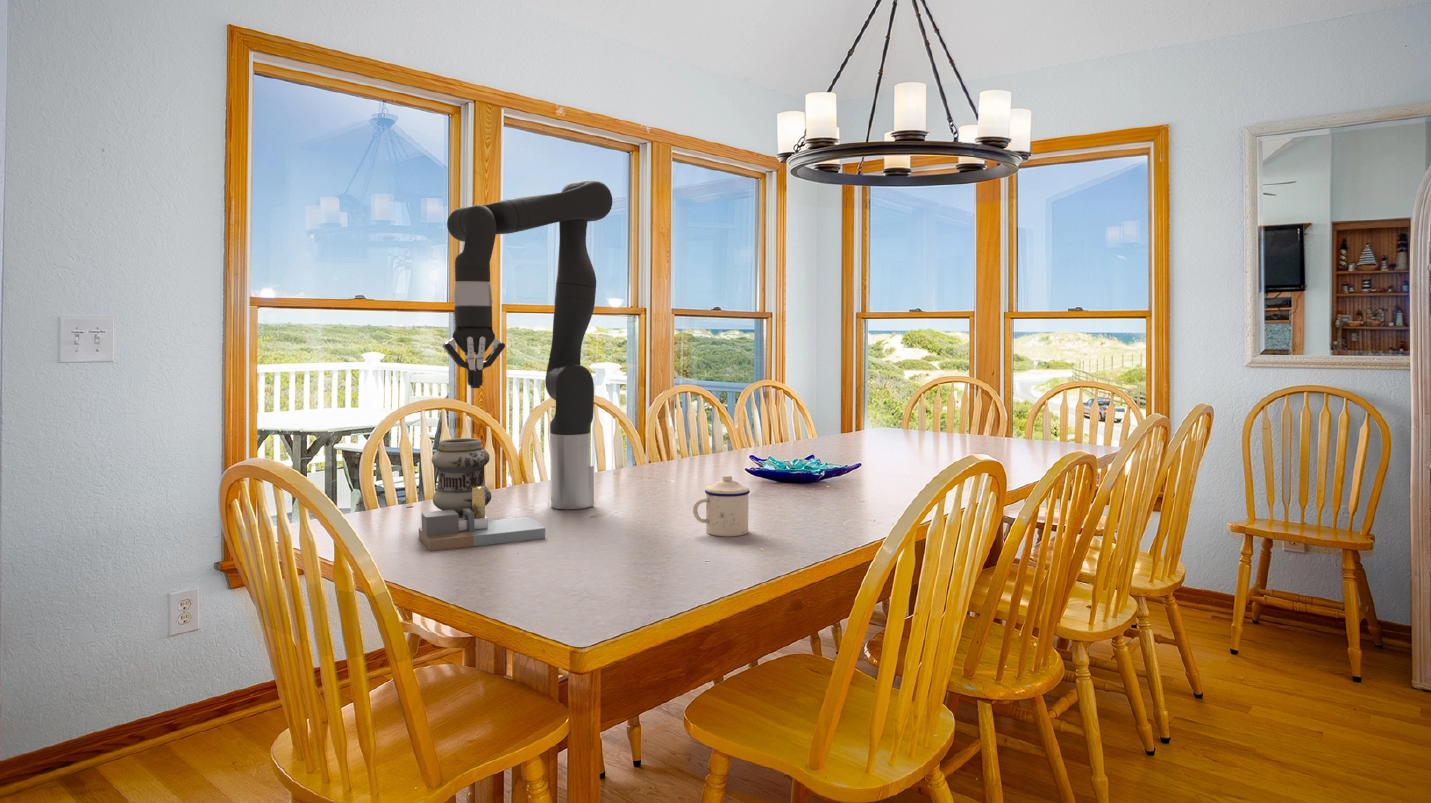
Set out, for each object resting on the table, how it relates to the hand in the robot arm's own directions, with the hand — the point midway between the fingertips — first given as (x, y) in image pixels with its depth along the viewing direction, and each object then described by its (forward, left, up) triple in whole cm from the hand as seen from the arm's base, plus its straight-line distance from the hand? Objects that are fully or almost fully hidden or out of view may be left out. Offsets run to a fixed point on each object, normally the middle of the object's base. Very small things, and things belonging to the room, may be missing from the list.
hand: (475, 387), depth 186 cm
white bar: (+6, +12, -27) cm, 30 cm away
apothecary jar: (+3, -3, -29) cm, 29 cm away
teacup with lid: (-42, +30, -29) cm, 59 cm away
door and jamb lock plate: (+2, +12, -29) cm, 31 cm away
